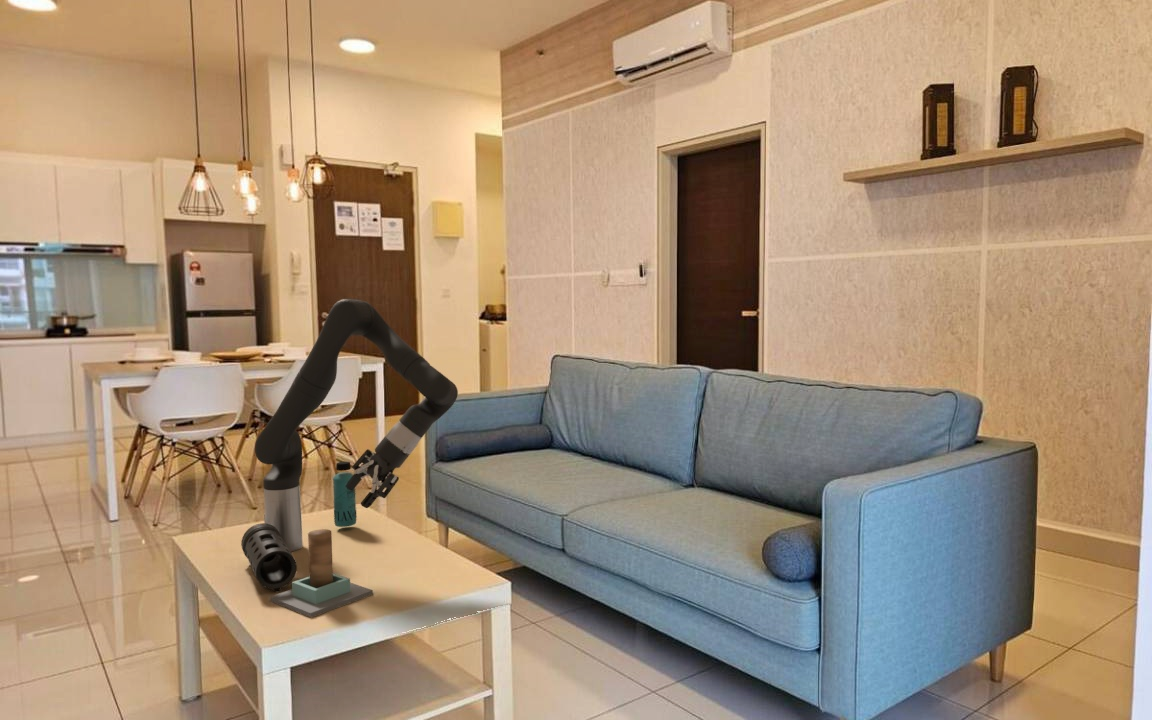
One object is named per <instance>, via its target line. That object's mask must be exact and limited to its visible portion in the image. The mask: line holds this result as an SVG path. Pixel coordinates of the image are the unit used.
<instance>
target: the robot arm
mask: <svg viewBox="0 0 1152 720" xmlns="http://www.w3.org/2000/svg"><path fill="white" fill-rule="evenodd" d="M321 328H322V329H321V331H320V333H319V335H318V336H317V339H316V341H315V343H314V344H313V347H312V348H311V350H310V352H309V353H308V355H307V358H306V359H305V361H304V363H303V364H302V366H301V368H300V369H299V370H298V373H297V374H296V376H295V378H294V379H293V381H292V383H291V386H289V389H288V391H287V392H286V393H285V395H284V398H283V399H282V401H281V402H280V404H279V406H278V408H277V409H276V411H275V413H273V416H272V417H271V418H270V420H269V421H268V422H267V424H266V425H265V427H264V428H263V429H262V431H260V433H259V434H258V436H257V438H256V441H255V444H254V453H255V457H256V459H257V460H258V461H259V462H260V463H262V464H265V465H271V468H270V470H269V471H268V473H267V474H266V475H265V476H264V478H263V482H262V483H263V484H262V485H263V498H264V499H263V501H264V502H263V503H264V515H263V521H264V523H266V524H270V525H272V526H274V527H275V528H276V529H277V530H278V531H279V533H280V534H281V537H282V540H283V541H284V543H285V545H286V546H287V548H288V549H289V551H290V552H291V553H292V552H296V551H298V550H300V549H302V548H303V546H304V542H303V526H302V525H303V521H302V519H303V518H302V504H301V502H302V500H301V487H300V486H301V485H300V483H301V482H300V479H301V476H302V473H303V442H302V438H301V435H300V433H299V432H298V431H297V429H298V427H299V426H301V424H302V423H303V422H304V421H305V420H306V419H307V418H308V417H309V416H310V415H312V414H313V413H314V412H315V411H316V410H317V409H318V408H319V407H320V406H321V405H322V403H323V402H324V400H325V399H326V398H327V396H328V394H329V392H330V391H331V389H332V388H333V385H334V384H335V382H336V379H337V372H338V358H339V355H340V352H341V350H342V348H344V345H345V344H346V342H347V341H348V340H349V338H350V337H351V336H361V337H363V338H366V339H367V340H368V341H370V342H372V343H373V344H375V346H376V347H378V349H379V351H381V353H382V354H383V357H384V358H385V361H386V362H387V364H389V366H390V367H391V368H392V369H393V370H394V371H395V372H396V373H397V374H398V375H400V376H401V377H402V378H403V379H404V380H406V382H408V383H410V384H411V385H412V386H413V387H414V388H415V389H416V390H417V391H418V393H420V394H421V395H422V396H423V397H424V398H423V399H422V400H421V401H420V402H419V403H416V404H413V405H411V406H409V408H408V409H407V410H406V411H405V412H404V413H403V415H402V416H401V417H400V419H399V420H398V421H397V422H396V423H395V424H394V425H393V426H392V427H391V428H390V429H389V431H388V432H387V433H386V435H385V436H384V437H382V439H381V441H380V442H379V444H377V445H376V447H375V448H374V452H373V451H372V450H370V449H369V448H368V449H366V450H365V451H364V452H363V453H362V454H361V456H360V457H359V458H358V459H357V460H356V461H355V462H354V464H353V465H352V469H353V470H354V472H353V476H352V477H351V479H350V480H349V481H348V482H347V484H346V488H347V489H349V490H351V491H352V490H354V488H356V487H357V486H358V485H359V483H360V482H361V481H362V479H363V478H365V477H367V476H370V479H371V483H372V486H371V490H370V491H368V493H367V494H366V496H364V498H363V500H361V502H360V505H361V506H362V507H363V508H365V509H368V508H369V507H371V506H372V505H373V504H374V502H375V501H376V500H377V499H378V498H383V499H386V498H387V496H388V495H390V492H391V491H392V490H393V488H394V487H395V486H396V485H397V483H398V481H399V479H400V477H399V476H398V475H396V474H394V471H395V469H399V468H401V467H402V465H403V464H404V463H405V461H406V460H407V459H408V458H409V457H410V455H411V454H412V453H413V451H414V450H415V449H416V447H417V446H418V445H419V443H420V441H421V440H422V438H423V437H424V436H425V434H426V433H427V432H428V431H429V429H431V427H432V425H433V424H434V423H435V422H436V421H438V420H440V418H441V417H443V416H444V415H445V414H446V413H447V412H448V411H449V410H450V409H451V408H452V407H453V406H454V403H456V401H457V399H458V394H459V391H458V388H457V386H456V385H455V383H454V382H453V381H452V380H450V379H449V378H448V377H447V376H445V374H443V373H442V372H440V371H439V370H437V369H436V368H435V367H434V366H432V365H431V364H430V363H429V362H428V360H427V359H425V358H424V357H423V355H421V354H420V353H418V352H417V351H416V350H415V349H414V348H412V347H411V345H409V344H408V343H407V342H405V340H403V339H402V338H401V337H400V336H399V335H398V334H397V333H396V331H395V330H394V329H393V328H392V327H391V326H390V325H389V324H388V323H387V322H386V320H385V319H384V318H383V317H382V315H381V314H380V313H379V312H378V311H377V310H376V308H375V307H374V306H373V305H372V304H370V302H367V301H365V300H360V299H349V298H343V299H340V300H338V301H336V303H334V304H333V306H332V307H331V309H330V310H329V312H328V314H327V316H326V319H325V321H324V324H323V326H322V327H321Z"/></svg>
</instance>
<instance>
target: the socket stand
mask: <svg viewBox="0 0 1152 720" xmlns="http://www.w3.org/2000/svg"><path fill="white" fill-rule="evenodd" d="M373 595H374V590H373V589H371V588H368V587H365V586H361V585H359V584H356V583H354V582H351V579H350V578H349V577H346V576H343V575H341V574H337V573H334V572H333V583H331V584H328V585H325V586H322V587H319V588H314V587H311V586H310V575H309V576H307V577H304V578H301V579H298V580H295V581H291V589H289V590H286V591H285V590H284V591H282V592H280V593H276V594H273V595H270V596H269V602H272V603H274V604H276V605H278V606H281V607H283V608H286V609H289V610H291V611H293V610H294V611H293V612H296V613H297V614H298V613H299V614H300V613H301V615H303V616H306V617H308V618H310V619H312V618H313V617H316V616H319V615H321V614H325V613H327V612H330V611H333V610H334V609H338V608H340V607H343V606H345V605H349V604H352V603H354V602H357V601H359V600H362V599H364V598H367V597H370V596H373ZM332 609H333V610H332Z"/></svg>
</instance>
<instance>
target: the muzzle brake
mask: <svg viewBox="0 0 1152 720" xmlns="http://www.w3.org/2000/svg"><path fill="white" fill-rule="evenodd" d="M240 541H241V545H240V546H241V550H242V551H243V554H244V556H245V558H246V559H248V562H249V564H250V566H251V569H252V572H253V573H254V576H255V578H256V580H257V582H258V583H259V584H260V585H261V587H264V588H265V589H268V590H273V592H274V593H277V592H280V591H281V588H284V587H286V586H288V584H290V583H292V582H293V579H294V578H295V577H296V573H297V572H298V571H297V569H298V566H297V560H296V559H295V557H294V556H293V554H292V552H290V551H289V549H288V548H287V546H286V545H285V543H284V541H283V540H282V537H281V534H280V533H279V531H278V530H277V529H276V528H275V527H274V526H272V525H270V524H266V523H257V524H254V525H251V526H250V527H249V528H247V530H246V531H245V532H244V533H243V536H242V538H241V540H240Z"/></svg>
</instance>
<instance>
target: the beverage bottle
mask: <svg viewBox="0 0 1152 720" xmlns="http://www.w3.org/2000/svg"><path fill="white" fill-rule="evenodd" d="M335 465H336V467H335V471H338V472H339V471H347V472H339V473H336V474H335V475H334V476H333V477H332V490H333V513H334V514H333V518H334V519H333V522H334V526H336V527H339V528H341V527H342V528H346V527H350V526H351V527H352V526H354V525H356V524H357V520H358V516H357V515H358V514H357V505H356V494H357V492H356V487H355V488H354V490H352V491H351V490H349V489H347V488H346V484H347V482H348V481H349V480H350V479H351V477H352V476H353V475H354V473H351V472H349V471H348V470H351V469H352V468H351V462H350V461H338V462H336V464H335Z"/></svg>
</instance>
